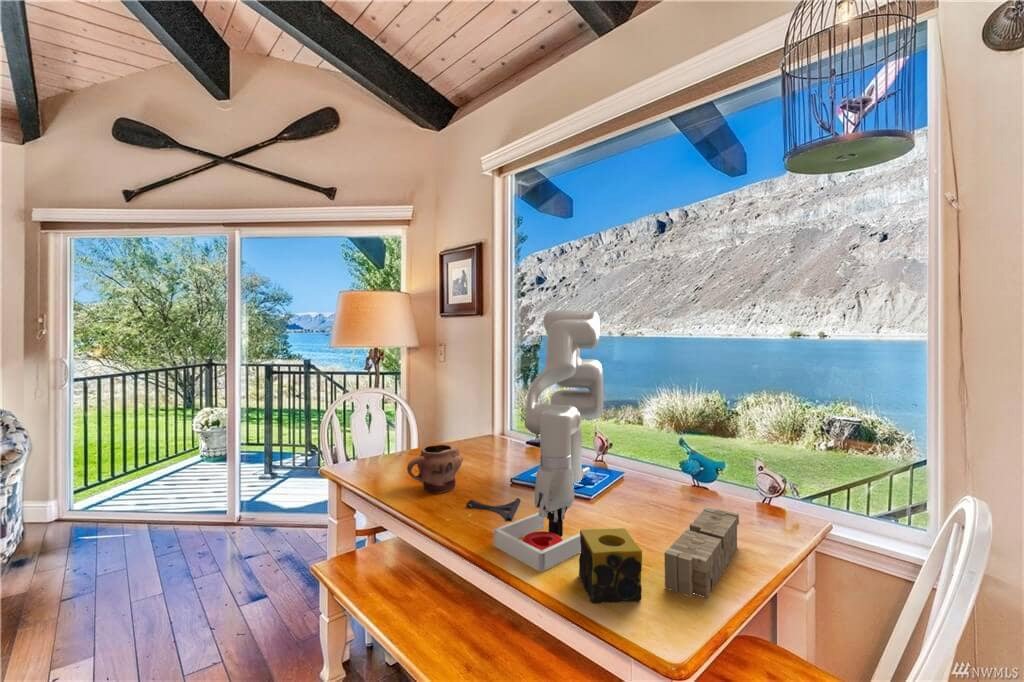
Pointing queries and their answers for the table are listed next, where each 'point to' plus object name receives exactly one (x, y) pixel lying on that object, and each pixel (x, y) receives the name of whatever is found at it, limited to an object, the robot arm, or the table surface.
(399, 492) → the table surface
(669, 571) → the block tower
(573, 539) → the rail
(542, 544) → the decorative ornament
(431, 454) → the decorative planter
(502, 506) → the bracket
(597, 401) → the robot arm
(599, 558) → the olive cube with hole
